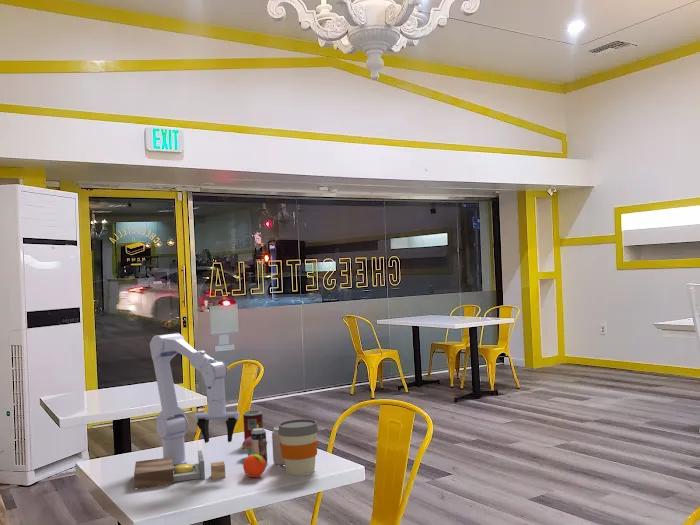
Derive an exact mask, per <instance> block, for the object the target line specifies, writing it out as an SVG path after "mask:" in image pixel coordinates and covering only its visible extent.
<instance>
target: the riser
mask: <svg viewBox="0 0 700 525" xmlns="http://www.w3.org/2000/svg"><path fill="white" fill-rule="evenodd" d="M210 470H211V479H212V480H215V479H223V478H226V465H225V461H224V460H223V461H216V462H210Z"/></svg>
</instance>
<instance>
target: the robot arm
mask: <svg viewBox="0 0 700 525" xmlns="http://www.w3.org/2000/svg"><path fill="white" fill-rule="evenodd" d="M149 349H150V354H151V359H152V362H153V368H154V373H155V379H156V384H157V390H158V394H159V395H158V396H159V400H160V405H161V410H160V411H159V414H158V415H156V417H155V418H156V426H155V427H156V430H155V431H156V433H157V434H158V436H159V437H160V439H162V458H170V457H172V459H173V466H177V465H180V464H188V463H187V456H186V450H185V435H186V434H187V432H188V430H189V428H190V426H189V425H190V424H189V423H190V422H189V419H188V418H187V416H186V411H185V410H184V409H183V408H181V407H179V405H178V399H177V395H176V389H175V385H174V384H175V383H174V378H173V373H172V372H173V371H172V368H171V367H172V366H171V363H170V362H171V361H172V359H173V358H174V357H176V355H177V354H180V355H181V356H183V357H185V358H186V359H187V360H189V364H190V366H192V367H193V368H195V369H196V370H197V371H198V372H200V373H201V375H202V379H203V380H204V385H205V387H206V397H207V398H206V399H207V400H206V401H207V403H206V404H207V412H197V413H195V414H194V421H197V422H196V425H197V427H198V428H199V430H200V432H201V434H202V436H203V440H204V443H205V444H206V443H209V442H210V434H209V426H210V425H209V424H210V420H226V421H225V424H226V432H227V442H228V443H231V442H232V441H233V436H234V435H233V434H234V430H235V427H236V424H237V422H238V419H240V418H241V415H240V413H241V412H240V411H227V408H226V407H227V406H226V391H225V390H226V387H225V386H226V385H225V378H226V377H227V376H228V372H229V368H228V366H227V364H226V363H225V362H224V361H223V360H216V359H215V358H213V357H211V356H210V355H208V354H207V353H206V351H205V350H196V349H194V348H193V347H192V346H191V344H189V343H188V342H187V341H186V340H185V337H184V335H181V334H180V332H174V333H169V334H167V333H166V334H160V335H158V334H157V335H154V336H153V337H152V338H151V341H150V343H149Z"/></svg>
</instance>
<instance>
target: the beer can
mask: <svg viewBox="0 0 700 525" xmlns="http://www.w3.org/2000/svg"><path fill="white" fill-rule="evenodd" d="M251 440H252V454H259V455H260V456H262V457H263V458H264V460H265V463H266V466H267V465H268V449H267V448H268V447H267V446H268V443H267V444H266V441H267V432H266V429H265V428H264V427H263V428H255V429H253V430H252V432H251Z"/></svg>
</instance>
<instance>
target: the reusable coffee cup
mask: <svg viewBox="0 0 700 525" xmlns="http://www.w3.org/2000/svg"><path fill="white" fill-rule="evenodd" d="M278 426H279V432H278V434H279V435H280V440H281V442H280V448H281V453H282V457H283V458H284V463H285V466H284V467H285V473H286V472H287V473H288V474H287V473H286V474H287V475H289V474H291V475H290V476H304V475H303V474H305V475H309V474H312V473H314V472H315V467H316V456H317V455H318V446H319V444H318V442H319V439H318V436H317V435H318V432H319V429H318V428H319V427H318V422H317V421H316V420H314V419H310V418H309V419H307V418H304V419H303V418H302V419H301V418H299V419H291V420H286V421H282V422H280V423H279V424H278ZM313 471H314V472H313ZM308 473H309V474H308Z"/></svg>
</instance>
